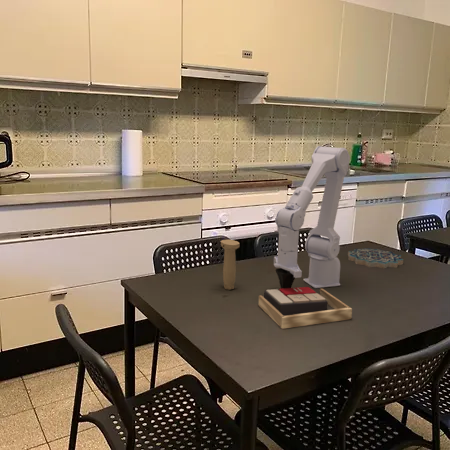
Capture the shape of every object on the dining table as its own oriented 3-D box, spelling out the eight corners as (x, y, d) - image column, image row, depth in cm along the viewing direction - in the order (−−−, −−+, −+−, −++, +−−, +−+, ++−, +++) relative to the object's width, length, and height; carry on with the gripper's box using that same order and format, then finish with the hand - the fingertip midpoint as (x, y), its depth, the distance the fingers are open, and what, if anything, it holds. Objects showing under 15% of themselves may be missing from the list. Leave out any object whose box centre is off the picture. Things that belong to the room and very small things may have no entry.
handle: (228, 293, 140) (229, 245, 136) (216, 286, 145) (217, 240, 141) (241, 289, 142) (242, 243, 139) (229, 283, 148) (230, 238, 144)
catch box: (321, 297, 138) (322, 288, 137) (351, 319, 123) (352, 308, 123) (258, 305, 131) (258, 295, 130) (282, 328, 117) (282, 317, 116)
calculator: (328, 299, 128) (280, 302, 123) (326, 313, 129) (278, 317, 124) (309, 285, 138) (263, 287, 133) (307, 298, 139) (262, 301, 134)
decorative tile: (410, 260, 177) (410, 255, 176) (389, 272, 162) (390, 266, 162) (361, 250, 190) (362, 244, 189) (338, 260, 175) (338, 254, 175)
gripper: (265, 243, 140) (263, 285, 143) (286, 257, 126) (284, 303, 129) (286, 242, 142) (284, 283, 145) (309, 255, 128) (306, 300, 132)
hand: (285, 292), depth 137 cm, fingers closed
